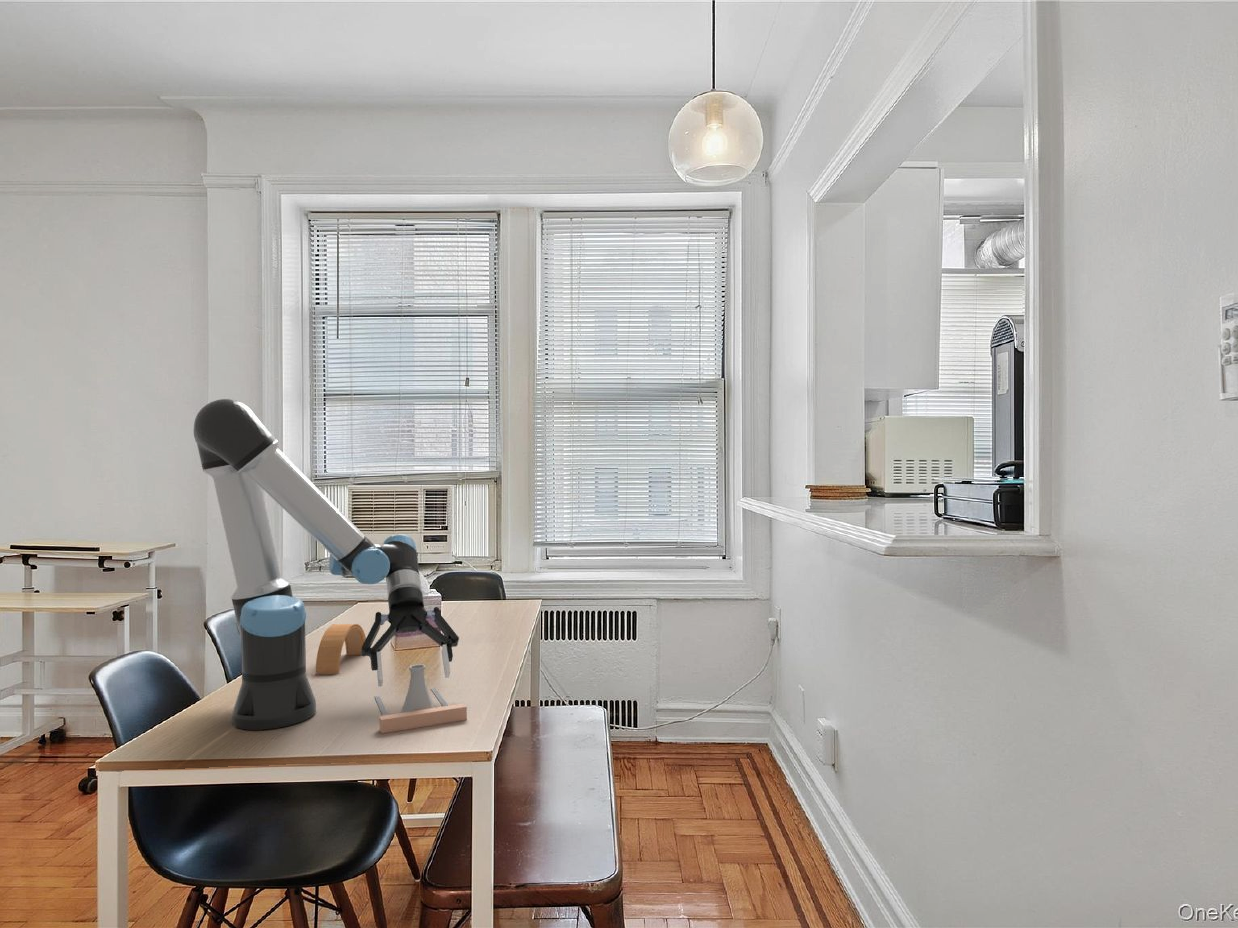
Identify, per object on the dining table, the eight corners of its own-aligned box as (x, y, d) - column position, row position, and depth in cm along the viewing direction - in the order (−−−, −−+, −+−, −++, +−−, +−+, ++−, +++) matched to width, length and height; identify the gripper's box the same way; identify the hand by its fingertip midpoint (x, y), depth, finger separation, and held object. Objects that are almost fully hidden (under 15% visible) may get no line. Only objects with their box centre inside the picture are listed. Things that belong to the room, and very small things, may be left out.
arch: (368, 653, 198) (367, 616, 198) (338, 674, 178) (337, 633, 178) (347, 654, 198) (346, 617, 198) (314, 674, 178) (314, 633, 178)
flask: (397, 713, 147) (396, 664, 147) (434, 708, 150) (433, 659, 150) (401, 725, 140) (400, 673, 140) (439, 719, 143) (438, 668, 143)
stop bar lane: (381, 733, 136) (381, 719, 136) (367, 698, 157) (367, 686, 158) (466, 719, 143) (466, 706, 143) (442, 687, 164) (442, 676, 164)
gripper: (458, 599, 173) (472, 680, 159) (346, 608, 163) (350, 695, 150) (462, 580, 168) (476, 662, 155) (347, 589, 158) (351, 676, 145)
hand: (414, 678), depth 152 cm, fingers open, 13 cm apart
